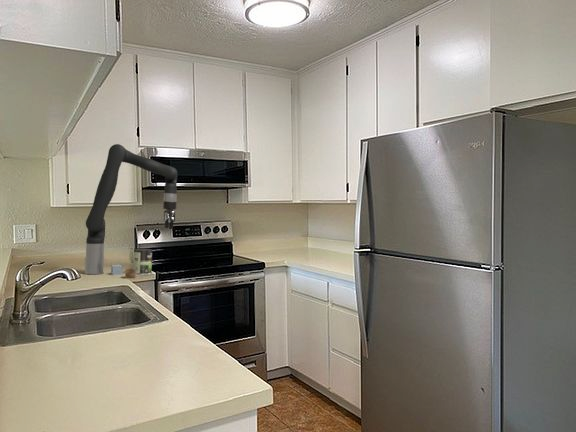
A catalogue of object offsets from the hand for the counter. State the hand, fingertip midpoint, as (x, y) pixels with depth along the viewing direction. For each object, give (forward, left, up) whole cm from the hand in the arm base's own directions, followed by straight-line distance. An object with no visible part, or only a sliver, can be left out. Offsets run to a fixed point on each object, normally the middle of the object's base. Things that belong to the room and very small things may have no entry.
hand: (168, 228), depth 255 cm
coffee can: (-14, -2, -27) cm, 30 cm away
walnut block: (-20, -15, -27) cm, 36 cm away
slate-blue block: (-28, -2, -27) cm, 39 cm away
